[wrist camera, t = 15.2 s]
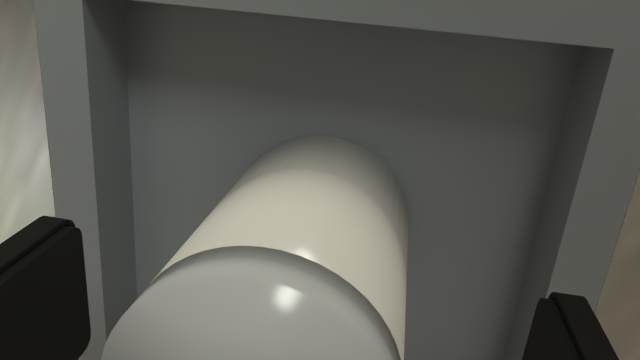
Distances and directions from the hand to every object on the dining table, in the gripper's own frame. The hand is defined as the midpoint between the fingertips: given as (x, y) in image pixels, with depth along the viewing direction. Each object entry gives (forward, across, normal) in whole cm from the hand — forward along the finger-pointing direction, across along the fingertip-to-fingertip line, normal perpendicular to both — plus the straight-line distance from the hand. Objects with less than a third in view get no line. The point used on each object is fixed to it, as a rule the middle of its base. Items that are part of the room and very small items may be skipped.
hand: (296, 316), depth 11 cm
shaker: (+5, 0, 0) cm, 5 cm away
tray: (+6, 0, 0) cm, 6 cm away
